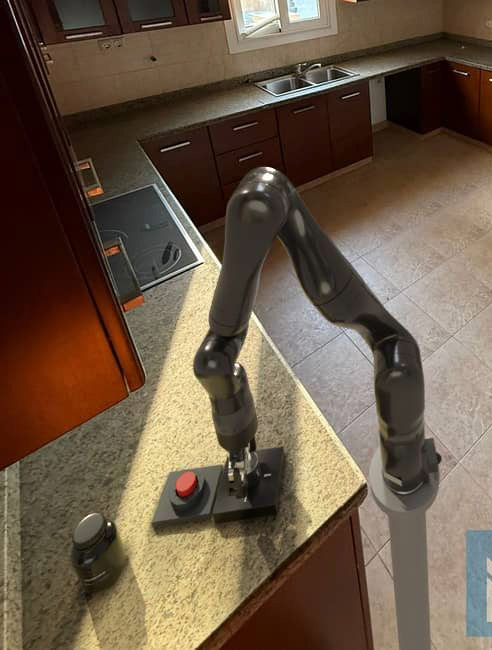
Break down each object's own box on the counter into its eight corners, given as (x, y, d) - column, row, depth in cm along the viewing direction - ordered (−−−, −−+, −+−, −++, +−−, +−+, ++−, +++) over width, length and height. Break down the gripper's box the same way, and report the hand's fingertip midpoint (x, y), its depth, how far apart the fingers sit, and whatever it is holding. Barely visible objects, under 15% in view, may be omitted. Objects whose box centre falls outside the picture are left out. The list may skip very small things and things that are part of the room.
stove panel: (285, 455, 95) (283, 445, 94) (277, 514, 85) (274, 504, 84) (229, 463, 94) (227, 454, 93) (214, 524, 84) (211, 513, 83)
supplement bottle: (93, 606, 73) (73, 563, 70) (76, 578, 77) (56, 536, 73) (134, 562, 79) (118, 520, 75) (116, 537, 83) (100, 496, 79)
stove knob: (241, 468, 91) (237, 452, 89) (262, 465, 91) (259, 449, 89) (236, 491, 86) (232, 475, 85) (258, 488, 87) (254, 472, 85)
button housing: (223, 469, 93) (220, 458, 92) (211, 519, 85) (207, 507, 84) (171, 477, 92) (167, 466, 91) (153, 528, 84) (149, 516, 83)
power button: (199, 476, 89) (197, 470, 89) (193, 495, 86) (191, 490, 85) (181, 478, 89) (179, 472, 88) (174, 498, 86) (172, 492, 85)
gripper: (246, 450, 76) (258, 509, 82) (261, 379, 90) (271, 434, 95) (202, 456, 76) (218, 516, 81) (224, 384, 89) (236, 439, 94)
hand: (247, 471), depth 88 cm, fingers open, 8 cm apart
